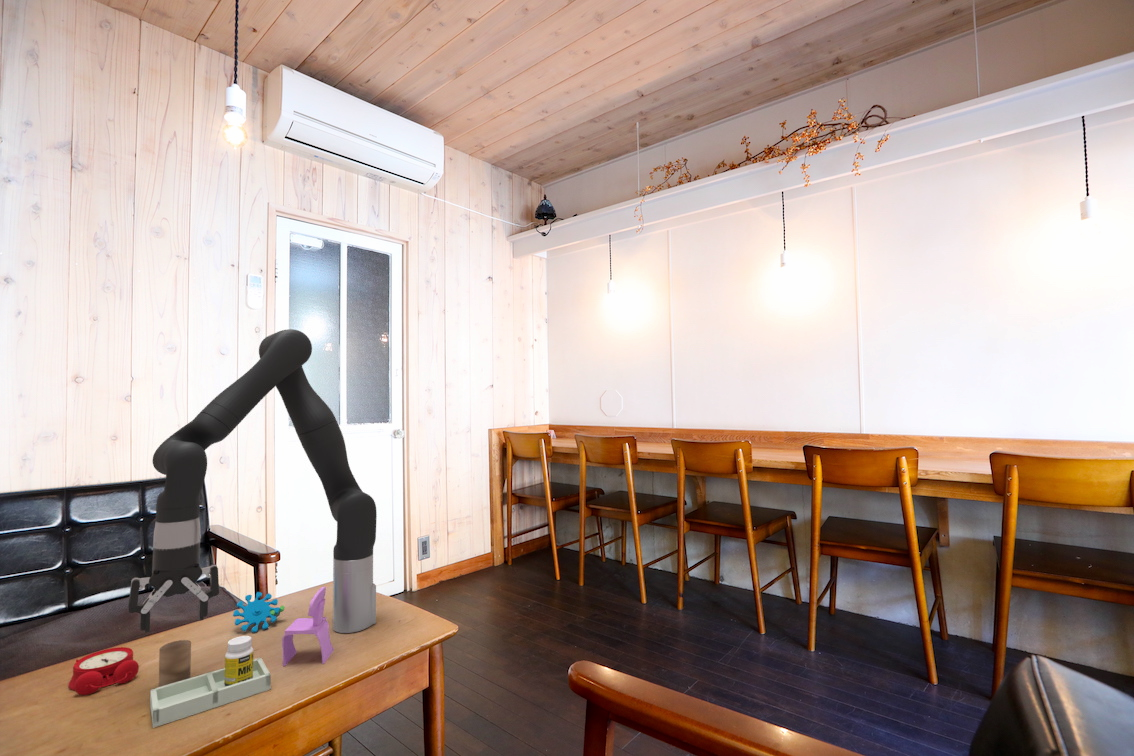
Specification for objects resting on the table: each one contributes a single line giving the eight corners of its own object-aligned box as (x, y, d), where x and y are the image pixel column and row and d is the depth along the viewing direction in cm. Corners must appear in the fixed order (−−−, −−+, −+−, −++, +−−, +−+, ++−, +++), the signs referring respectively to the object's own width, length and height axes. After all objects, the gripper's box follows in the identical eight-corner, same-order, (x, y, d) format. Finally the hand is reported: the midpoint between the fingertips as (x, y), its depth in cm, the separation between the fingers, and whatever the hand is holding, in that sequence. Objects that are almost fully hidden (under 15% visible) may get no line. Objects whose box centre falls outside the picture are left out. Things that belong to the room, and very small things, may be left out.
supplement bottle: (239, 691, 100) (239, 646, 100) (218, 689, 101) (218, 644, 101) (258, 678, 105) (259, 635, 105) (238, 676, 106) (239, 633, 106)
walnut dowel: (188, 677, 107) (189, 637, 107) (191, 687, 103) (192, 646, 103) (157, 686, 104) (158, 645, 104) (159, 697, 100) (160, 654, 100)
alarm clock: (130, 641, 116) (145, 646, 106) (131, 671, 115) (146, 679, 105) (65, 659, 108) (74, 666, 98) (65, 692, 107) (74, 702, 97)
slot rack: (260, 671, 109) (260, 657, 109) (270, 689, 102) (270, 674, 102) (150, 705, 97) (150, 689, 98) (152, 727, 91) (153, 711, 91)
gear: (230, 631, 124) (236, 591, 131) (228, 643, 127) (234, 603, 134) (283, 627, 129) (286, 589, 136) (279, 638, 133) (283, 600, 140)
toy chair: (294, 650, 118) (295, 582, 119) (335, 647, 119) (335, 580, 120) (278, 669, 110) (279, 596, 111) (322, 666, 111) (322, 594, 112)
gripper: (217, 532, 112) (214, 610, 111) (130, 544, 103) (127, 629, 102) (222, 539, 106) (220, 621, 106) (131, 553, 97) (127, 642, 96)
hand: (174, 625), depth 104 cm, fingers open, 8 cm apart
